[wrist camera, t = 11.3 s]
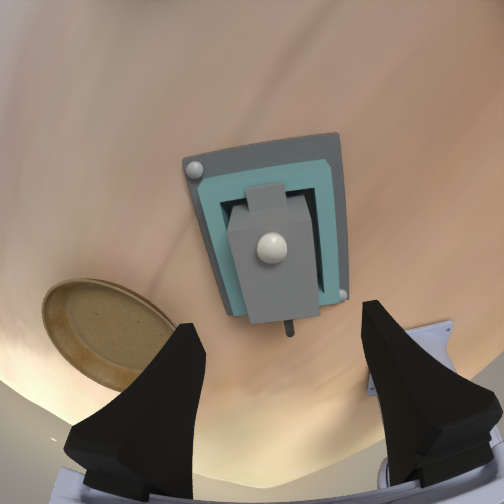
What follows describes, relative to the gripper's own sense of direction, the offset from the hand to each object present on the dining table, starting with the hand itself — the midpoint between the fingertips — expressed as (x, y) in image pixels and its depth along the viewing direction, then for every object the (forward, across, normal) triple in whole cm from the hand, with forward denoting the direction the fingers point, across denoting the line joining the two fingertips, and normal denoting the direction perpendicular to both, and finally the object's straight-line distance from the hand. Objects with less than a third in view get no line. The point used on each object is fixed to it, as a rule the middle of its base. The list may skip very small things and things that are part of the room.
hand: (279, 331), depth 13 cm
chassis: (+9, 0, 0) cm, 9 cm away
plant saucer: (+9, +16, +8) cm, 20 cm away
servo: (+8, 0, +1) cm, 8 cm away
